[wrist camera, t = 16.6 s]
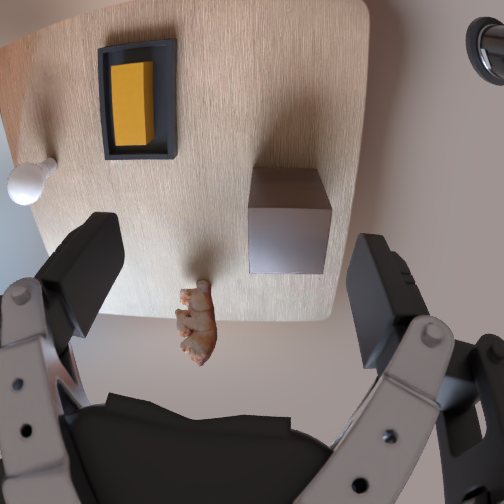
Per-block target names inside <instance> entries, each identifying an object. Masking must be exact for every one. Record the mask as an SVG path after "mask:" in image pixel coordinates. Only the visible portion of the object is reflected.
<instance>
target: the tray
mask: <svg viewBox="0 0 504 504" xmlns="http://www.w3.org/2000/svg"><path fill="white" fill-rule="evenodd" d="M148 61H153V105H154V131H155V138H154V139H153V140H151V141H150V142H149V143H148V144H147V145H123V146H116V142H115V131H114V119H113V104H112V84H111V66H115V65H121V64H129V63H138V62H148ZM176 63H177V39H164V40H153V41H144V42H136V43H129V44H122V45H115V46H109V47H104V48H99V49H98V79H99V99H100V114H101V126H102V136H103V145H104V154H105V160H133V159H174V158H175V157H176V156H177V123H176Z"/></svg>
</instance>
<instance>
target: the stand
mask: <svg viewBox="0 0 504 504" xmlns="http://www.w3.org/2000/svg"><path fill="white" fill-rule="evenodd" d="M331 216H332V207H331V204H330V202H329V199H328V196H327V194H326V191H325V188H324V186H323V183H322V180H321V178H320V175H319V173H318V170H317V169H299V168H253V170H252V178H251V186H250V194H249V202H248V237H249V273H264V274H323V270H324V264H325V258H326V251H327V245H328V238H329V231H330V224H331Z"/></svg>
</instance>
